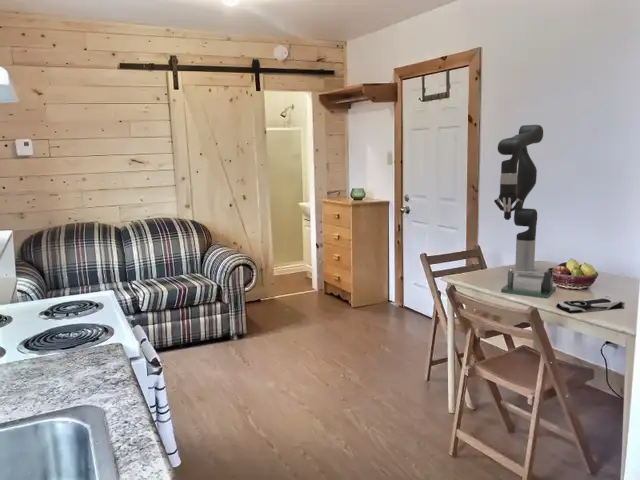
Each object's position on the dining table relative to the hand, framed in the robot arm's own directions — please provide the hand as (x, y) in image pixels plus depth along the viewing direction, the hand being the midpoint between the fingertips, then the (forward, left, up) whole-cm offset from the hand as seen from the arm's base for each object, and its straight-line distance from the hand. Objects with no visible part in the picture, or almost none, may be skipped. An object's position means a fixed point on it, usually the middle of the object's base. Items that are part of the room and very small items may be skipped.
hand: (507, 219), depth 256 cm
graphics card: (+22, +40, -32) cm, 56 cm away
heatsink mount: (+9, +13, -31) cm, 35 cm away
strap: (+9, +13, -23) cm, 28 cm away
